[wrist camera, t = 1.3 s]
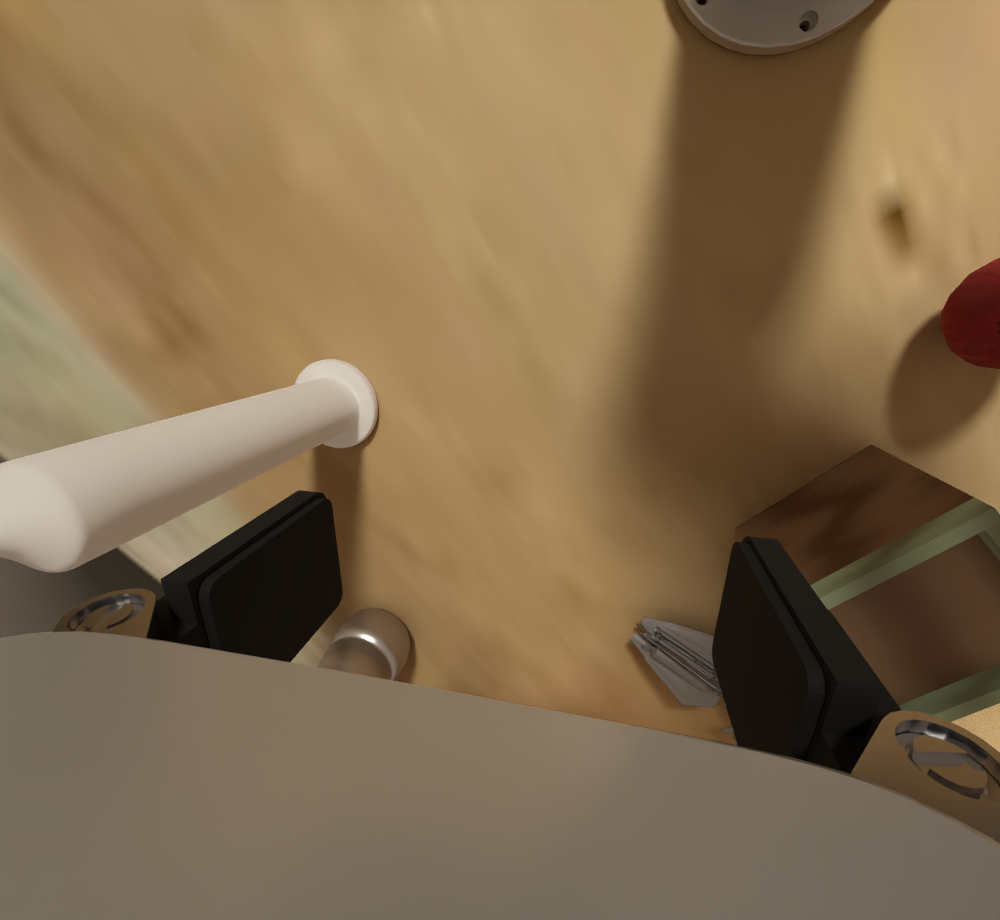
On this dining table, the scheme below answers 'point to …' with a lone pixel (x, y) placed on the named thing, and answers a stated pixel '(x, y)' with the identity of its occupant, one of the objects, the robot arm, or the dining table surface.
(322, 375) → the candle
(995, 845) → the robot arm
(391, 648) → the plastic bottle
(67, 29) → the dining table surface
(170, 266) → the dining table surface
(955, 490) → the green shadow box
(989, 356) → the onion
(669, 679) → the spaceship
